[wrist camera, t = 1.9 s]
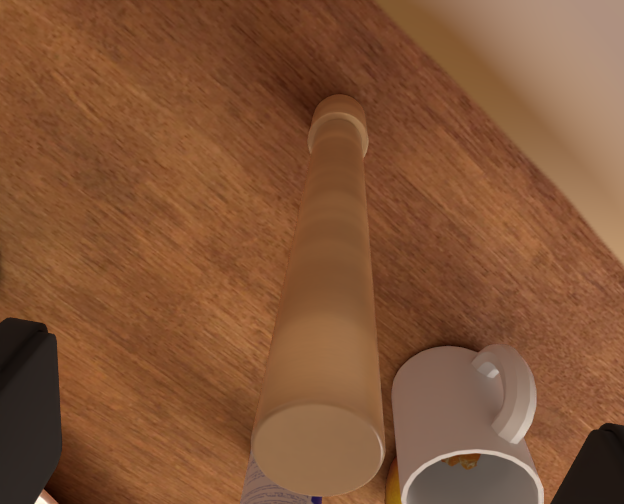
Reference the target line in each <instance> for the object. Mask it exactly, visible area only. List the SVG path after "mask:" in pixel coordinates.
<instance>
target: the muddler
mask: <svg viewBox="0 0 624 504" xmlns="http://www.w3.org/2000/svg"><path fill="white" fill-rule="evenodd" d="M307 143H308V149H309V152H310V155H311V156H310V161H309V165H308V170H307V175H306V180H305V184H304V189H303V194H302V199H301V203H300V208H299V213H298V217H297V222H296V227H295V232H294V236H293V241H292V246H291V251H290V255H289V260H288V265H287V270H286V274H285V279H284V284H283V289H282V293H281V298H280V303H279V308H278V312H277V317H276V322H275V326H274V331H273V336H272V341H271V345H270V350H269V355H268V360H267V364H266V369H265V374H264V379H263V383H262V388H261V393H260V398H259V402H258V407H257V412H256V417H255V421H254V426H253V431H252V436H251V450H252V454H253V457H254V460H255V462H256V464H257V466H258V467H259V469H260V470H261V471H262V472H263V474H264V475H265V476H266V477H268V478H269V479H270V480H271V481H273V482H274V483H275V484H277V485H279V486H281V487H282V488H284V489H287V490H289V491H292V492H295V493H298V494H302V495H308V496H318V497H326V496H336V495H341V494H345V493H348V492H351V491H354V490H356V489H358V488H360V487H362V486H363V485H365V484H366V483H368V482H369V481H370V480H371V479H372V478H373V477H374V476H375V475H376V474H377V472H378V471H379V469H380V467H381V465H382V463H383V461H384V457H385V449H386V447H385V434H384V421H383V408H382V395H381V382H380V369H379V356H378V343H377V330H376V317H375V304H374V291H373V278H372V266H371V253H370V240H369V227H368V214H367V201H366V188H365V175H364V162H363V158H364V156H365V154H366V152H367V149H368V132H367V124H366V116H365V112H364V109H363V108H362V106H361V105H360V103H359V102H358V101H357V100H355V99H354V98H352V97H350V96H347V95H342V94H337V95H332V96H329V97H327V98H325V99H324V100H322V101H321V102H320V103H319V104H318V106H317V107H316V109H315V111H314V114H313V118H312V122H311V126H310V130H309V134H308V140H307Z"/></svg>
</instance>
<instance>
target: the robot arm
mask: <svg viewBox="0 0 624 504" xmlns="http://www.w3.org/2000/svg"><path fill="white" fill-rule="evenodd" d="M61 452H62V434H61V414H60V395H59V376H58V357H57V340H56V336H55V335H54V334H51V333H48V330H47V327H46V325H45V324H43V323H39V322H33V321H28V320H22V319H16V318H11V317H10V318H6V319H5V320H3V321H2V322H1V323H0V504H35V502H36V500H37V499H38V497H39V495H40V494H41V492H42V490H43V489H44V487H45V485H46V484H47V482H48V480H49V479H50V477H51V475H52V474H53V472H54V470H55V469H56V467H57V465H58V462H59V459H60V456H61ZM551 504H624V426H623V425H618V424H612V423H605V424H604V425H602V426H601V427H600V428H599V429H598V430H593V431H591V433H590V434H589V435H588V437H587V439H586V441H585V443H584V444H583V446H582V448H581V450H580V452H579V453H578V455H577V457H576V459H575V460H574V462H573V464H572V466H571V468H570V469H569V471H568V473H567V475H566V477H565V478H564V480H563V482H562V484H561V486H560V487H559V489H558V491H557V493H556V495H555V496H554V498H553V500H552V502H551Z"/></svg>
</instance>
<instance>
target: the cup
mask: <svg viewBox="0 0 624 504" xmlns="http://www.w3.org/2000/svg"><path fill="white" fill-rule="evenodd" d="M499 374H500V375H499ZM392 408H393V419H394V429H395V440H396V451H397V462H398V472H399V483H400V494H401V502H402V504H543V503H544V489H543V486H542V484H541V481H540V479H539V476H538V473H537V471H536V468H535V466H534V463H533V460H532V458H531V455H530V452H529V450H528V447H527V445H526V442H525V439H524V436H525V434H526V432H527V430H528V429H529V427H530V425H531V423H532V420H533V417H534V413H535V409H536V386H535V382H534V377H533V374H532V372H531V370H530V368H529V366H528V364H527V363H526V361H525V360H524V359H523V358H522V356H521V355H520V354H519V353H518V352H517V351H516V349H515V348H513V347H511V346H509V345H506V344H493V345H488V346H486V347H485V348H484V349H482V350H481V351H480V352H479V353H477V352H475V351H472V350H469V349H466V348H463V347H455V346H441V347H434V348H431V349H427V350H424V351H421V352H420V353H418V354H416V355H415V356H413V357H412V358H410V359H409V360H408V361H407V362H406V363H405V364H404V365H403V366H402V367H401V368H400V369H399V371H398V372H397V374H396V376H395V378H394V380H393V386H392ZM472 453H480V454H481V455H480V458H479V460H478V461H477V464H476V465H477V466H475V467H473V468H471V469H469V470H466V469H465V468H463V466H462V465H461V464H460V463H457V464H456V465H454V466H449V465H448V464H447V463H445V462H442V461H441V459H444V458H448V457H452V456H455V455H459V454H472Z"/></svg>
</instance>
